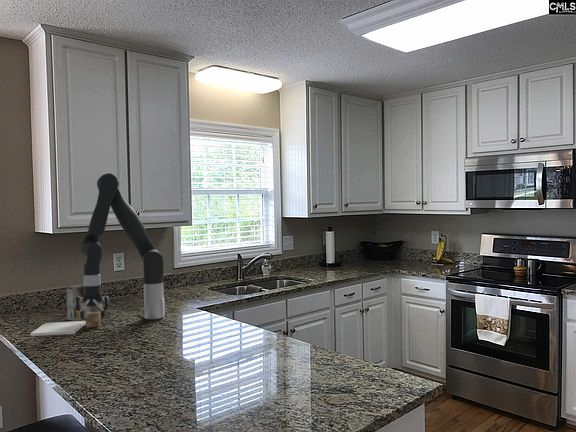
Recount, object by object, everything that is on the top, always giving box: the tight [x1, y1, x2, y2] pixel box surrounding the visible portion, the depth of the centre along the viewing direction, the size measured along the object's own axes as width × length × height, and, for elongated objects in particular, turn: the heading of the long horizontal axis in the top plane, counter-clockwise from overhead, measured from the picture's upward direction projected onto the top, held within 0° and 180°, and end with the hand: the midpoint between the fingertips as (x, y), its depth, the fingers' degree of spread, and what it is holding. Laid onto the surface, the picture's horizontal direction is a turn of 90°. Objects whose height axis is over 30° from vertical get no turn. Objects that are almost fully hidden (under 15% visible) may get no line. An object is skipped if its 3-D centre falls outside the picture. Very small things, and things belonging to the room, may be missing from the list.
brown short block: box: [86, 310, 102, 328], centre depth 223 cm, size 5×5×6 cm
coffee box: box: [65, 284, 92, 322], centre depth 237 cm, size 9×6×16 cm
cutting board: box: [30, 320, 87, 337], centre depth 217 cm, size 18×18×1 cm
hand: (92, 318), depth 223 cm, fingers open, 8 cm apart
